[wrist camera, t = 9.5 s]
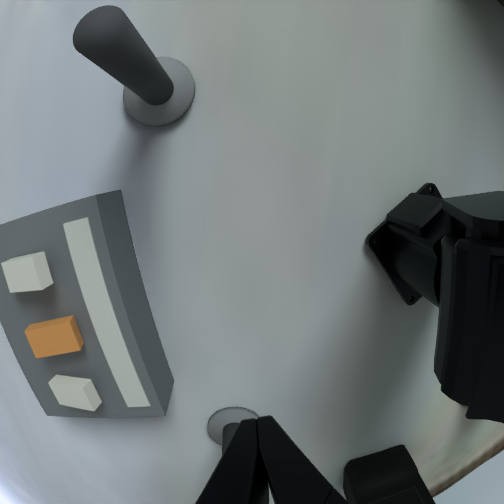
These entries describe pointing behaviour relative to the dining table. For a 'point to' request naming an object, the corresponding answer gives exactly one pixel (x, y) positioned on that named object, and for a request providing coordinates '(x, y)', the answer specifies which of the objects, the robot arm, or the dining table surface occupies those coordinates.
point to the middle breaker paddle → (54, 337)
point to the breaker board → (87, 308)
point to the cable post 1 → (135, 67)
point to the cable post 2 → (227, 424)
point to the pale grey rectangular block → (27, 273)
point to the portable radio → (385, 479)
